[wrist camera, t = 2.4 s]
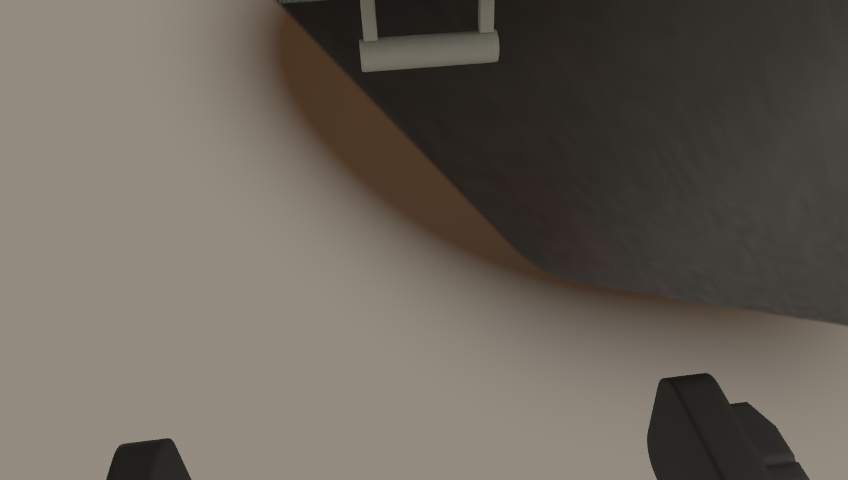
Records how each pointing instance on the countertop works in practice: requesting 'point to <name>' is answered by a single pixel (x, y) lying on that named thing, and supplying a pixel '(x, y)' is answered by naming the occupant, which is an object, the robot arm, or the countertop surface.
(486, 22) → the drawer
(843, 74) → the countertop surface
